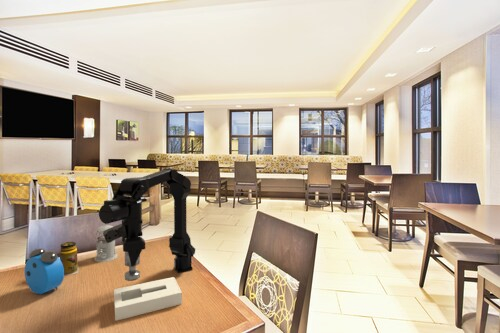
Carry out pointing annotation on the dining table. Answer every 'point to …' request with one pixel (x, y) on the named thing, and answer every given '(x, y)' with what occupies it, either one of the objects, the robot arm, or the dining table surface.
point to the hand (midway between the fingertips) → (132, 262)
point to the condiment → (69, 258)
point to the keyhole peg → (131, 269)
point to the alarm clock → (43, 271)
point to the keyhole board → (146, 298)
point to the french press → (104, 246)
